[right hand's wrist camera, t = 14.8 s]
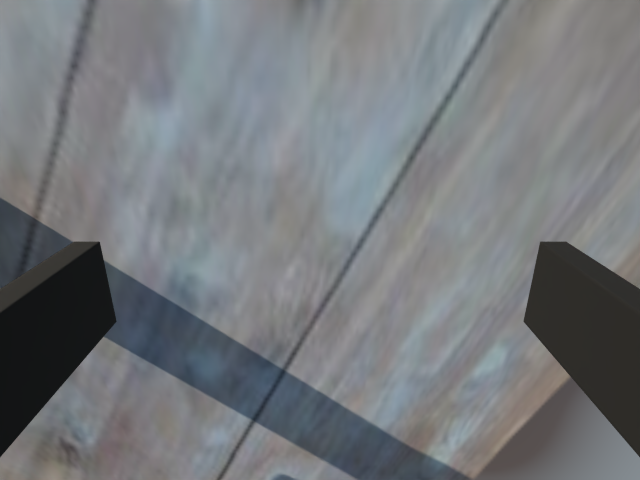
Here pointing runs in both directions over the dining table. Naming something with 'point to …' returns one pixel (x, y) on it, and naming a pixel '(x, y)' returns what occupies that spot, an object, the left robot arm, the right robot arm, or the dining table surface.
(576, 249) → the right robot arm
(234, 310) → the dining table surface
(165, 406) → the dining table surface
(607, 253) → the dining table surface
